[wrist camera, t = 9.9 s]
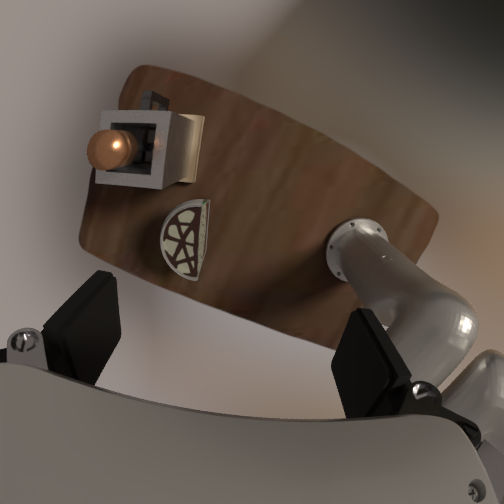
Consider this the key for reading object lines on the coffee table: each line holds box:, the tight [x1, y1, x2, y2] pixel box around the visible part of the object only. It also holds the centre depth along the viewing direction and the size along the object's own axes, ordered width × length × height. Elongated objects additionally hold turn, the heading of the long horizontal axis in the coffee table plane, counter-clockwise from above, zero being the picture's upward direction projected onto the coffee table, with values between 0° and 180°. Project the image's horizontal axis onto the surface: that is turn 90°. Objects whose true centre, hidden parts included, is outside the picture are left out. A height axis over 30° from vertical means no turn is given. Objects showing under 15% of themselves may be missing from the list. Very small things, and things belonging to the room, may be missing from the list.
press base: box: [146, 114, 205, 183], centre depth 43 cm, size 11×11×2 cm
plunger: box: [87, 129, 156, 171], centre depth 32 cm, size 5×5×20 cm
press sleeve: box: [95, 91, 195, 189], centre depth 35 cm, size 9×12×14 cm
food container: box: [160, 199, 210, 281], centre depth 44 cm, size 12×6×10 cm, turn 173°
